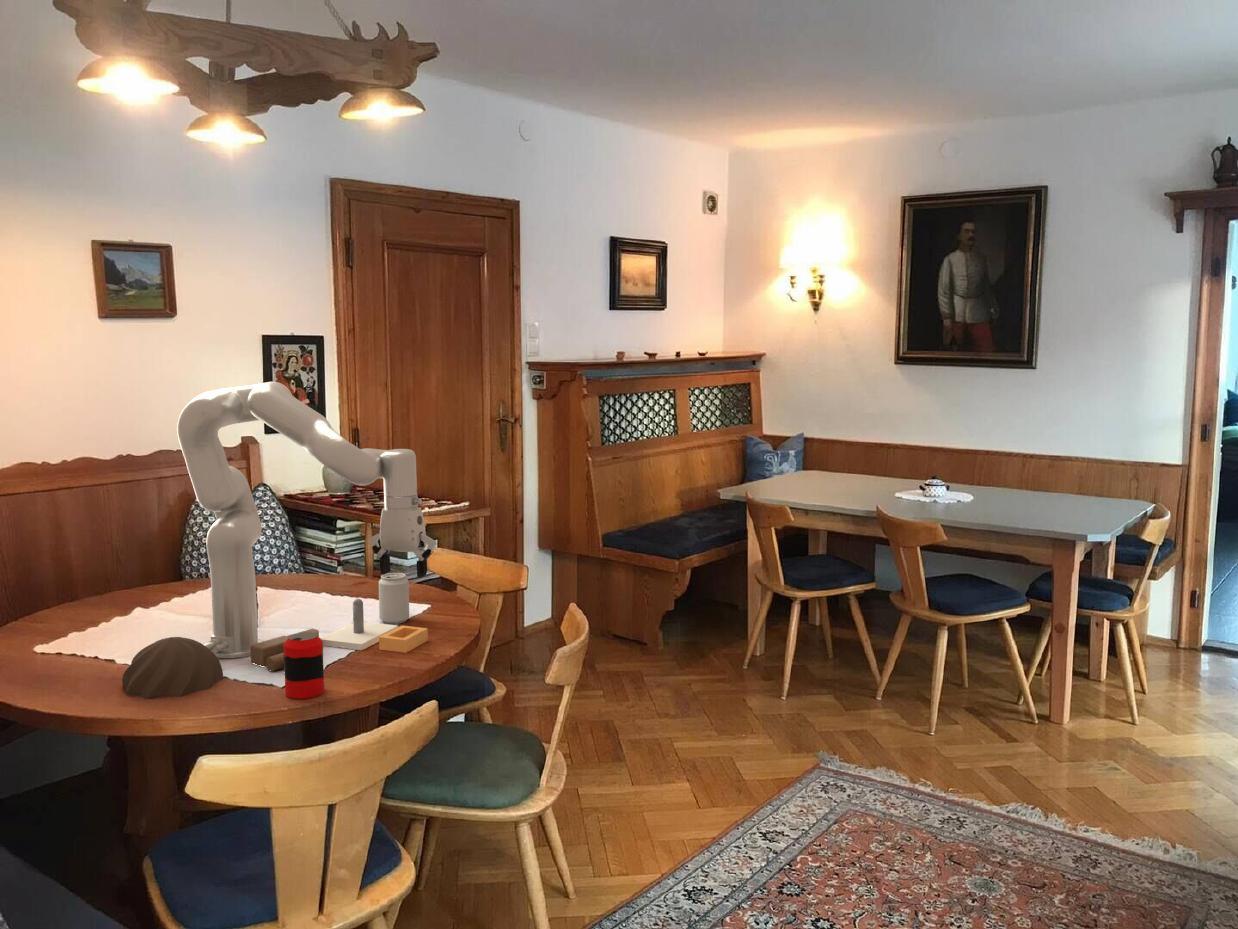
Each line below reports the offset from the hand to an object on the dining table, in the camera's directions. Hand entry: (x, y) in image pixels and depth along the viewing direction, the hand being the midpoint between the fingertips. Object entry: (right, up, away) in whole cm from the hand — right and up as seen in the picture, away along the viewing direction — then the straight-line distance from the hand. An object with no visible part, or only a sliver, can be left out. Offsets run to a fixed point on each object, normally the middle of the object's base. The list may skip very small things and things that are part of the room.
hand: (403, 574), depth 239 cm
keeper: (-12, -16, +7) cm, 22 cm away
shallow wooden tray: (0, -17, +2) cm, 17 cm away
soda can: (-14, -21, -30) cm, 39 cm away
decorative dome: (-43, -21, -24) cm, 54 cm away
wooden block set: (-20, -19, -10) cm, 29 cm away
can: (-7, -14, +22) cm, 27 cm away
